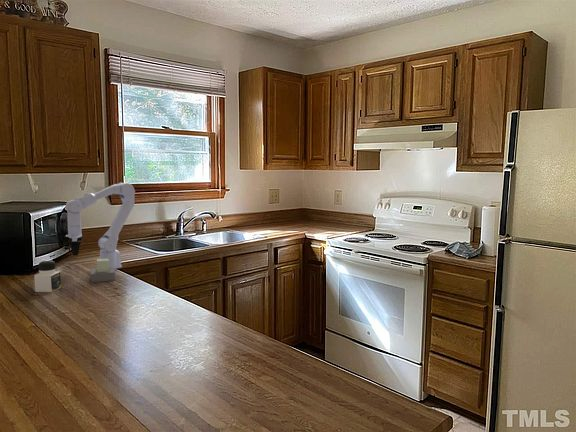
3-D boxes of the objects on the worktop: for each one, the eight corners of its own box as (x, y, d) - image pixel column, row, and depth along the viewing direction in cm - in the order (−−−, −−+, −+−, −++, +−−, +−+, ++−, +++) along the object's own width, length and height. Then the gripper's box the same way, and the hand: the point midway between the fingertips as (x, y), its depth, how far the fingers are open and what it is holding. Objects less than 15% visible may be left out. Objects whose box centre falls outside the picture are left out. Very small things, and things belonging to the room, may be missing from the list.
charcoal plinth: (92, 277, 205) (92, 268, 204) (115, 275, 208) (115, 267, 208) (90, 282, 196) (90, 274, 195) (115, 281, 199) (114, 272, 199)
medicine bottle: (52, 292, 180) (50, 263, 178) (34, 292, 180) (33, 263, 178) (61, 287, 187) (60, 259, 185) (44, 287, 187) (43, 259, 185)
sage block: (97, 269, 203) (96, 259, 202) (108, 269, 205) (108, 258, 204) (97, 272, 198) (96, 261, 198) (109, 271, 200) (108, 260, 200)
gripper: (65, 223, 212) (67, 251, 214) (64, 228, 199) (65, 257, 201) (82, 223, 215) (83, 250, 217) (81, 227, 202) (82, 256, 204)
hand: (75, 253), depth 209 cm, fingers open, 7 cm apart
